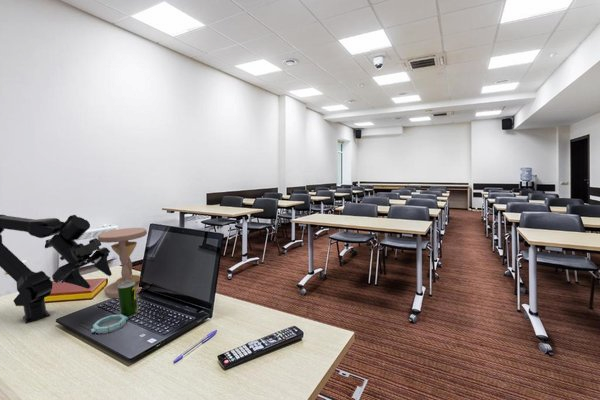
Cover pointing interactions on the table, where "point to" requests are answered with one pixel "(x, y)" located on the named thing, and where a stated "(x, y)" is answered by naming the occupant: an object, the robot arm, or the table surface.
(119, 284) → the beer can
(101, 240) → the hourglass
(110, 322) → the teal ring frame
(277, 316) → the table surface
